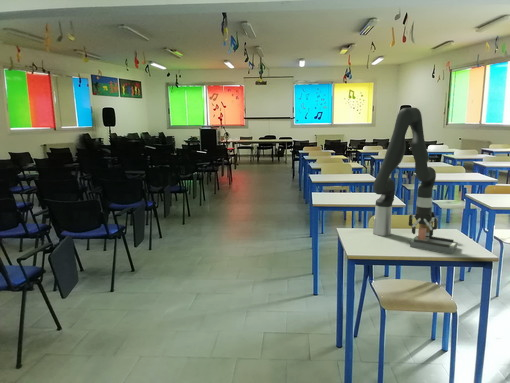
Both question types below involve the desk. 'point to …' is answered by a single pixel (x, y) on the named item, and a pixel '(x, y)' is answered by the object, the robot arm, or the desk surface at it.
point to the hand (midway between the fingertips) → (422, 235)
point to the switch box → (435, 244)
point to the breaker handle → (422, 234)
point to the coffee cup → (426, 225)
